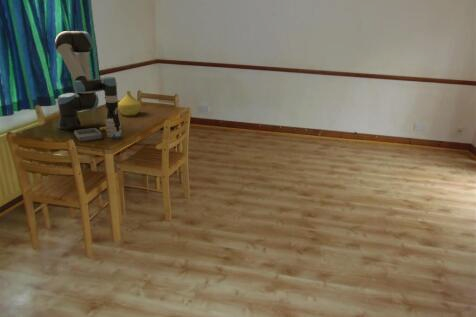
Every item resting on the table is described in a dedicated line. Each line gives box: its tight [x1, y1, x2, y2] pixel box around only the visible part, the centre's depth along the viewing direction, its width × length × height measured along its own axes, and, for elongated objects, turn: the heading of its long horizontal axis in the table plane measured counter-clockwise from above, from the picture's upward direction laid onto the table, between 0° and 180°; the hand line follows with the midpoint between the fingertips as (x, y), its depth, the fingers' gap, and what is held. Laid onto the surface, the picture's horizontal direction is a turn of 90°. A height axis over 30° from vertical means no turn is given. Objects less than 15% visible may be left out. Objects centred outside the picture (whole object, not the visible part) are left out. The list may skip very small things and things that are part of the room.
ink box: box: [105, 118, 123, 139], centre depth 243 cm, size 9×5×12 cm, turn 69°
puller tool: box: [98, 126, 107, 132], centre depth 260 cm, size 8×4×2 cm, turn 125°
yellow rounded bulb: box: [117, 90, 142, 117], centre depth 299 cm, size 18×18×19 cm
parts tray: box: [73, 127, 103, 143], centre depth 243 cm, size 16×14×3 cm
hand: (114, 133), depth 245 cm, fingers open, 13 cm apart
